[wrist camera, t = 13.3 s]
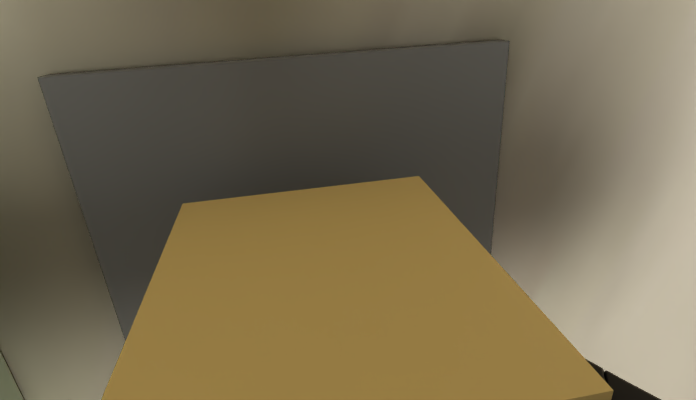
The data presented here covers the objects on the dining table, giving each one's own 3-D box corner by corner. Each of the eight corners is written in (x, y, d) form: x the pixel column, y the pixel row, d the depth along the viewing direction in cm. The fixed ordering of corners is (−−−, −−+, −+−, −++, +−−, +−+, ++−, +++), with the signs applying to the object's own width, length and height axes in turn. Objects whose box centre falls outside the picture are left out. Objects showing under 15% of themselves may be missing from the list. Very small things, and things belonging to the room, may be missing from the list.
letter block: (224, 385, 11) (184, 762, 6) (182, 203, 9) (54, 512, 4) (417, 352, 12) (551, 659, 6) (418, 175, 10) (622, 399, 4)
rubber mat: (158, 418, 13) (155, 429, 13) (46, 74, 9) (37, 77, 9) (475, 362, 15) (480, 371, 14) (500, 39, 10) (509, 41, 10)
